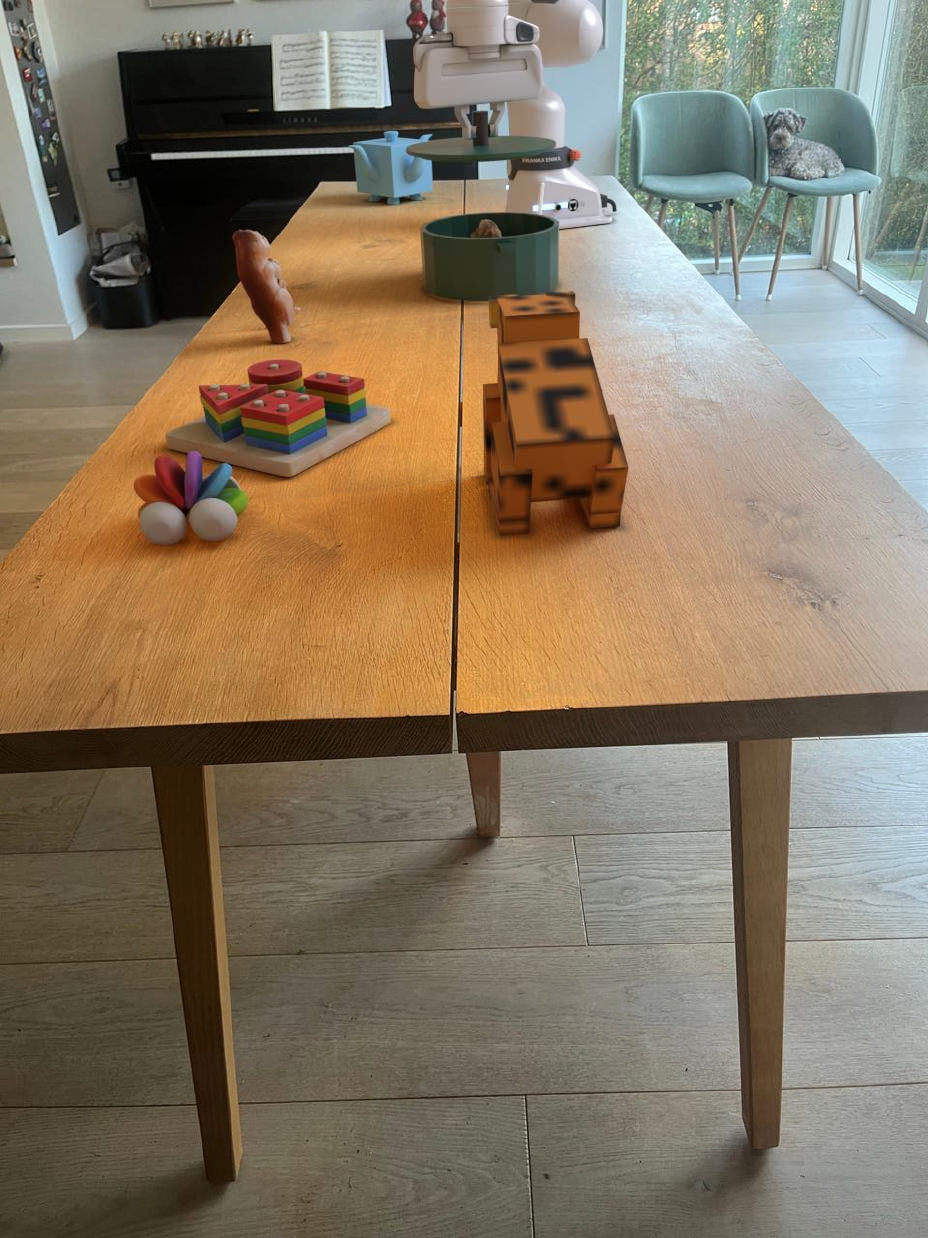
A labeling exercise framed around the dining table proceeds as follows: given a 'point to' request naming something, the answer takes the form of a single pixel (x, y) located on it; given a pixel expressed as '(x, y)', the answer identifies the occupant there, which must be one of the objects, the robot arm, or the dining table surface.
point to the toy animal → (548, 416)
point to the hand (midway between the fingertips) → (480, 137)
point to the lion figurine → (486, 230)
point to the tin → (490, 256)
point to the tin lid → (481, 146)
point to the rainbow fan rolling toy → (188, 501)
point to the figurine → (264, 284)
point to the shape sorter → (280, 419)
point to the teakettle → (391, 168)
